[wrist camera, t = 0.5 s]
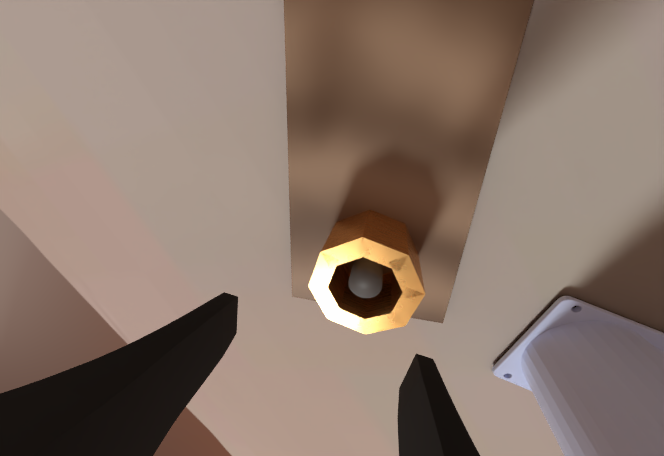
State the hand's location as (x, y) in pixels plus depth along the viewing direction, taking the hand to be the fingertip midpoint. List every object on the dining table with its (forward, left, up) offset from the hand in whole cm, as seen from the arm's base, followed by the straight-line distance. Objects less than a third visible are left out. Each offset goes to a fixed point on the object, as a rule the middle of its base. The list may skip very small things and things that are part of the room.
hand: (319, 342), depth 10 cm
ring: (-1, 0, -8) cm, 8 cm away
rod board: (+1, -7, -9) cm, 12 cm away
